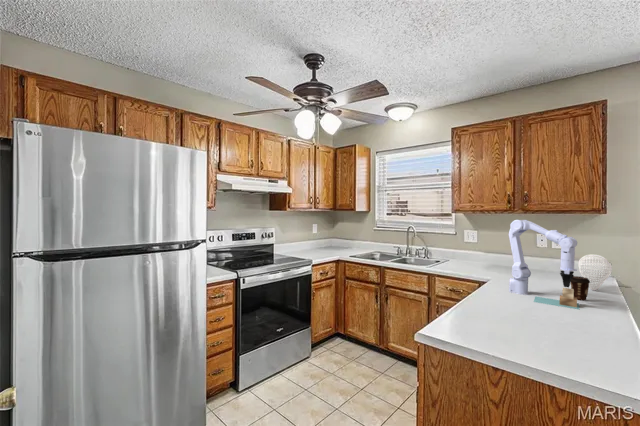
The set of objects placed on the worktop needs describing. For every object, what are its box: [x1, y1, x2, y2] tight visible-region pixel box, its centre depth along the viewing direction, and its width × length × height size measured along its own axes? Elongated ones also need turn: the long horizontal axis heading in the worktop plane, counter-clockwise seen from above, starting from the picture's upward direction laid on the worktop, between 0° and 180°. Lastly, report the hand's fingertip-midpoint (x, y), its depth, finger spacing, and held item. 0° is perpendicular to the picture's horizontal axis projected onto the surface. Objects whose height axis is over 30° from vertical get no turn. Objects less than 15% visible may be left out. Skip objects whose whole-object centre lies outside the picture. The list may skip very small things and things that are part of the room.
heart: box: [578, 253, 613, 291], centre depth 198 cm, size 28×16×22 cm, turn 140°
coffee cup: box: [570, 275, 591, 302], centre depth 174 cm, size 9×8×13 cm
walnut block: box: [559, 295, 578, 307], centre depth 163 cm, size 7×7×4 cm
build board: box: [533, 296, 580, 310], centre depth 166 cm, size 19×14×1 cm
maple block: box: [562, 287, 574, 299], centre depth 163 cm, size 4×4×4 cm
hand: (566, 285), depth 164 cm, fingers open, 7 cm apart
